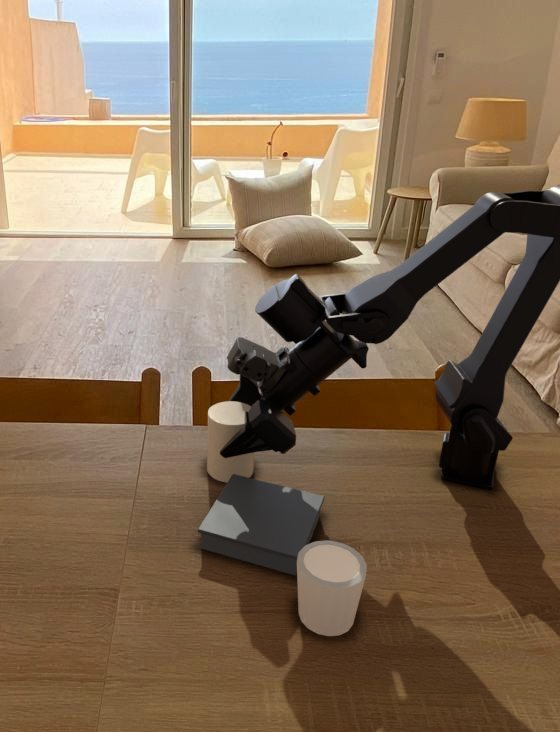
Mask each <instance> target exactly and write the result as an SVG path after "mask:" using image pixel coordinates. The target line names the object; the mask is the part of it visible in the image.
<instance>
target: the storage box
mask: <svg viewBox="0 0 560 732" xmlns="http://www.w3.org/2000/svg"><path fill="white" fill-rule="evenodd" d="M325 498H326V497H325V495H322V494H317V493H314V492H309V491H305V490H301V489H296V488H292V487H289V486H284V485H280V484H276V483H272V482H267V481H263V480H260V479H255V478H251V477H250V478H247V477H243V476H239V475H235V474H232V476H231V478H230V479H229V481H228V482H227V483H226V484H225V485H224V487H223V489H222V490H221V492H220V494H219V495H218V497H217V498H216V500H215V501H214V503H213V505H212V506H211V508H210V509H209V510H208V512H207V514H206V516H205V517H204V519H203V520H202V522H201V523H200V525H199V527H198V528H197V533H198V534H201V535H200V549H201V550H204V551H208V552H212V553H216V554H219V555H223V556H226V557H229V558H232V559H236V560H239V561H244V562H247V563H250V564H253V565H257V566H260V567H264V568H267V569H271V570H275V571H277V572H281V573H284V574H288V575H292V576H295V577H297V558H298V553H299V551H300V550H301V549H302V548H303V547H304V546H305V545H308V544H310V542H311V539H312V537H313V535H314V532H315V530H316V528H317V525H318V522H319V519H320V517H321V510H322V509H321V508H322V506H323V503H324V501H325Z"/></svg>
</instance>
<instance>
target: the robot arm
mask: <svg viewBox="0 0 560 732" xmlns="http://www.w3.org/2000/svg"><path fill="white" fill-rule="evenodd" d="M505 233H511V234H513V233H514V234H515V233H516V234H517V233H518V234H525V235H526V245H525V252H524V256H523V258H522V260H521V262H520V263H519V265H518V266H517V268H516V270H515V272H514V274H513V276H512V278H511V280H510V281H509V283H508V285H507V287H506V289H505V290H504V293H503V295H502V296H501V298H500V299H499V302H498V304H497V306H496V307H495V309H494V311H493V313H492V315H491V316H490V319H489V320H488V322H487V324H486V325H485V328H484V330H483V331H482V333H481V334H480V337H479V339H478V340H477V342H476V343H475V346H474V347H473V350H472V351H471V352H470V354H469V355H468V356H467V357H466V358H464V359H463V360H461V361H460V362H458V363H457V362H456V361H453V360H450V359H449V360H448V361H447V362H446V364H445V366H444V369H443V372H442V374H441V375H440V377H439V378H438V379H437V380H436V381H435V382H434V386H435V387H436V390H435V399H436V402H437V404H438V406H439V408H440V410H441V412H442V413H443V414H444V416H445V417H446V419H447V421H448V422H449V425H450V428H449V432H445V433H443V434H444V435H443V439H442V445H441V450H440V456H439V463H438V467H439V468H440V469H441V472H440V478H441V479H442V480H444V481H445V480H446V481H448V482H449V481H450V482H454V483H458V484H463V485H466V486H467V485H468V486H473V487H477V488H482V489H487V490H493V488H494V483H495V481H494V480H495V471H496V466H497V463H498V462H497V461H498V456H499V452H501V451H502V452H503V451H506V450H507V448H508V447H509V445H510V443H511V442H512V441H513V435H512V434H511V433H510V431H508V429H507V428H506V426H505V425H504V424H503V422H501V421H502V420H500V419H499V415H500V411H501V409H502V406H503V403H504V401H505V400H504V399H505V389H506V379H507V374H508V372H509V370H510V369H511V367H512V364H514V361H515V360H516V358H517V356H518V354H519V353H520V351H521V349H522V348H523V346H524V344H525V342H526V340H527V339H528V337H529V335H530V333H531V331H533V329H534V327H535V325H536V323H537V322H538V320H539V318H540V316H541V315H542V313H543V311H544V309H545V308H546V306H547V304H548V303H549V301H550V299H551V298H552V295H553V293H554V292H555V290H556V289H557V287H558V285H559V284H560V184H557V185H555V186H552V187H550V188H547V189H545V190H540V189H539V190H538V189H537V190H536V189H535V190H533V189H525V190H517V191H516V190H515V191H509V192H506V191H505V192H503V191H490V192H489V191H488V192H487V193H485V194H483V195H481V196H480V197H479V199H477V200H476V203H475V204H474V205H472V206H471V207H470V208H468V209H467V210H466V211H465V212H464V213H462V214H461V215H460V216H459V217H457V219H455V220H453V222H451V223H450V224H449V225H447V226H446V227H445V228H444V229H442V230H441V231H440V232H439V233H437V234H436V235H435V236H434V237H433V238H431V239H430V240H429V241H428V242H426V243H425V244H423V246H421V247H420V248H419V249H418V250H416V251H415V252H413V254H411V255H410V256H409V257H408V258H407V259H405V260H403V262H402V263H401V264H399V265H398V266H396V267H394V268H392V269H391V270H388V271H385V272H382V273H379V274H376V275H373V276H371V277H369V278H367V279H366V280H364V281H363V282H361V283H359V284H357V285H356V286H354V287H352V288H351V289H349V291H348V292H347V291H346V292H340V293H331V294H324V295H318V296H317V295H316V293H314V291H312V289H310V288H309V286H308V285H307V284H306V281H304V279H303V278H302V277H301V276H300V275H299V274H298V273H294V275H292V276H291V277H290V278H289V279H284V280H281V281H280V282H278V283H277V284H273V285H272V286H270V287H269V288H268V289H267V290H266V291H265V292H264V293H263V295H262V296H261V297H260V298H259V300H258V301H257V303H256V305H255V309H254V311H255V313H256V314H257V315H258V316H259V317H260V318H261V319H263V321H264V322H265V323H267V325H269V326H270V328H272V329H273V330H274V332H276V334H278V335H279V337H281V339H283V340H284V342H286V343H292V342H293V343H294V344H295V345H294V346H293V347H292V348H290V349H289V348H288V347H287V346H285V347H283V346H282V347H280V348H279V349H278V350H277V351H275V352H274V351H272V350H270V349H268V348H267V347H265V346H263V345H261V344H258V343H256V342H254V341H251V340H249V339H247V338H245V337H242V336H237V338H236V339H235V341H234V343H233V345H232V347H231V348H230V350H229V352H228V354H227V356H226V360H227V369H228V370H229V371H230V372H231V373H233V374H235V375H239V382H238V385H237V386H236V387H235V390H234V391H233V392H232V394H231V396H230V397H229V399H228V400H227V401H235V402H241V403H245V404H247V405H249V406H251V408H250V410H249V412H247V411H245V419H244V425H243V427H242V428H241V429H240V430H239V431H238V432H237V433H236V434H235V435H234V436H233V437H232V438H231V439H230V440H229V441H228V443H227V444H226V445H225V446H224V447H223V448H222V449H221V451H220V455H221V456H223V457H224V458H229V457H234V456H239V455H244V454H248V453H254V454H255V453H260V452H268V451H273V452H274V453H280V454H281V455H285V454H286V453H288V452H289V451H290V450H291V449H293V448H294V447H295V446H296V443H297V434H296V430H295V424H294V421H293V420H291V418H289V416H292V415H293V414H295V412H297V410H296V406H295V404H297V403H298V402H300V401H301V400H302V399H303V398H304V397H306V396H307V395H308V394H311V395H313V397H316V395H318V394H319V393H321V389H320V385H321V384H322V383H323V382H324V381H325V380H327V378H329V377H330V376H332V374H334V373H335V372H337V371H338V369H340V368H341V367H342V366H344V365H345V364H346V363H347V362H348V361H350V360H352V361H354V363H356V364H357V365H358V366H359V368H361V369H363V370H364V369H366V368H367V367H368V364H367V361H368V360H367V358H368V356H367V355H368V352H369V350H370V349H369V346H368V344H372V345H373V344H374V345H379V344H382V343H384V342H385V341H388V340H389V339H390V338H391V337H392V336H393V335H394V334H395V333H397V331H398V330H399V329H400V328H401V327H402V326H403V324H404V323H406V322H407V320H408V319H409V318H410V315H411V314H412V312H413V310H414V309H415V307H416V306H417V304H418V302H420V301H421V300H422V298H423V297H424V296H425V295H427V294H428V293H429V292H430V291H431V290H433V289H434V288H435V287H437V286H439V284H440V283H442V282H443V281H444V280H446V279H447V278H448V277H450V276H451V275H452V274H454V272H456V271H457V270H458V269H460V268H461V267H462V266H464V265H465V264H466V263H468V262H469V261H471V259H473V258H474V257H476V256H477V255H478V254H479V253H480V252H482V251H484V249H485V248H487V247H488V246H489V245H491V244H492V243H494V242H495V241H496V240H498V239H499V238H500V237H501V236H502V235H503V234H505ZM353 337H354V338H353ZM355 339H356V340H355ZM283 411H284V412H285V413H286V414H287V415H289V416H287V415H286V414H285V413H284V412H283Z"/></svg>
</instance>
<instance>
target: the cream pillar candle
mask: <svg viewBox="0 0 560 732" xmlns="http://www.w3.org/2000/svg"><path fill="white" fill-rule="evenodd" d="M250 408H251V406H249V405H247V404H245V403H241V402H235V401H228V400H227V401H221V402H217V403H215V404H213V405H211V406H210V407H209V408H208V411H207V437H206V438H207V440H206V442H207V443H206V444H207V445H206V447H207V448H206V450H207V451H206V453H207V454H206V471H207V473H208V475H209V476H210V477H211V478H213V479H214V480H215V481H218V482H222V483H226V484H227V482H228V481H229V479H230V478H231V476H232V474H235V475H239V476H243V477H247V478H251V477H252V475H253V474H254V470H255V469H254V467H255V466H254V465H255V464H254V463H255V452H254V453H248V454H244V455H239V456H234V457H229V458H224V457H223V456H221V455H220V451H221V449H222V448H223V447H224V446H225V445H226V444H227V443H228V441H229V440H230V439H231V438H232V437H233V436H234V435H235V434H236V433H237V432H238V431H239V430H240V429H241V428H242V427H243V425H244V419H245V411H247V412H249V410H250Z"/></svg>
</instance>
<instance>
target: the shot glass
mask: <svg viewBox="0 0 560 732" xmlns="http://www.w3.org/2000/svg"><path fill="white" fill-rule="evenodd" d="M367 566H368V565H367V563H366V560H365V559H364V557H363V556H362V554H360V553H359V551H357V550H356V549H355V548H354V547H351V546H349V545H347V544H345V543H342V542H340V541H339V542H338V541H334V540H316V541H313V542H311V543H310V542H309V544H308V545H305V546H304V547H303V548H302V549H301V550H300V551H299V553H298V558H297V575H296V577H297V578H296V579H297V581H296V582H297V603H298V604H297V607H298V616H299V619H300V622H301V623H302V624H303V625H304V626H305V628H307V629H308V630H310V631H312V632H313V633H316V634H317V635H320V636H325V637H337V636H341V635H343V634H345V633H348V632H349V631H350V629H351V628H352V627H353V625H354V622H355V619H356V614H357V611H358V607H359V605H360V604H359V603H360V600H361V595H362V592H363V588H364V585H365V581H366V577H367V569H368V567H367Z"/></svg>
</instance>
